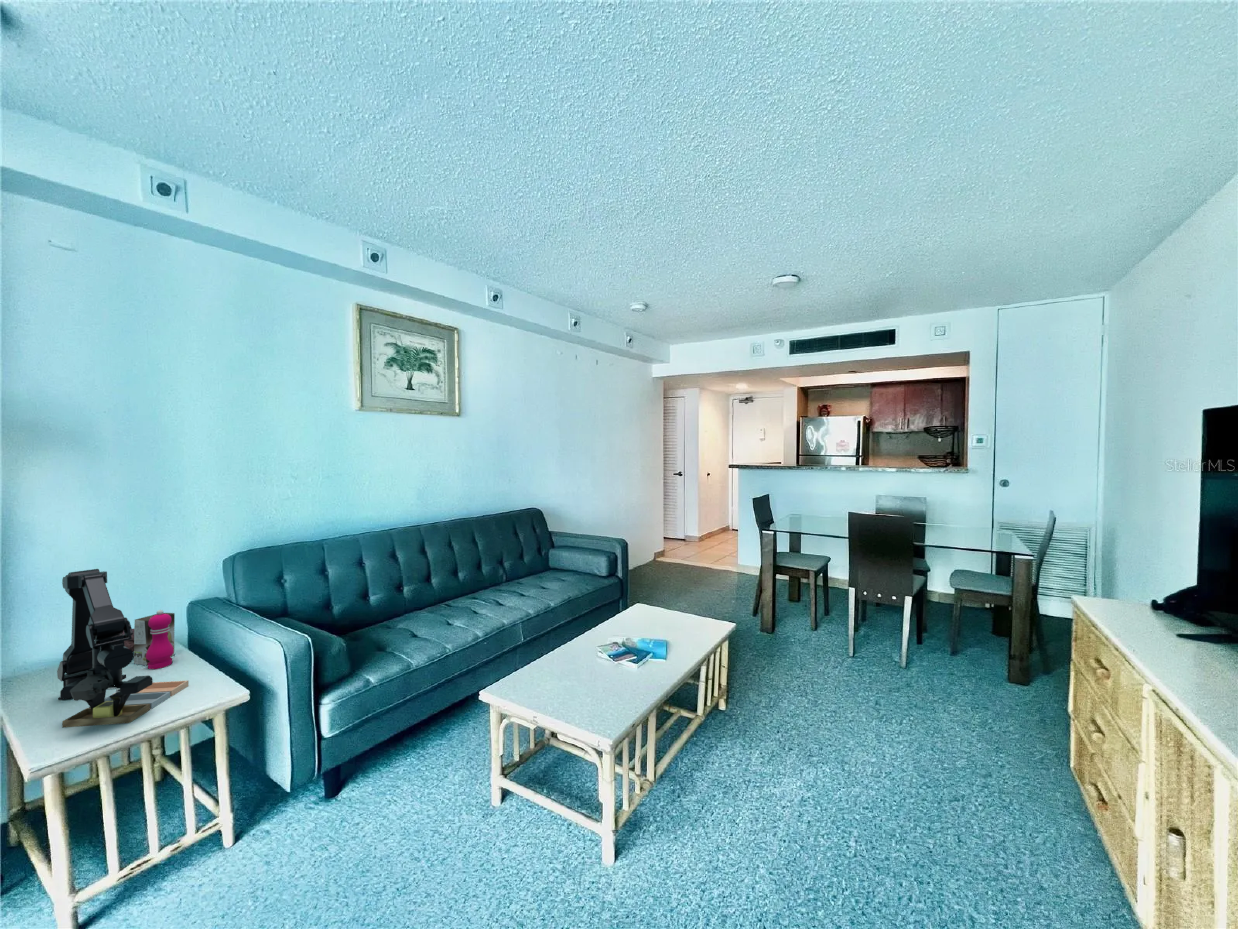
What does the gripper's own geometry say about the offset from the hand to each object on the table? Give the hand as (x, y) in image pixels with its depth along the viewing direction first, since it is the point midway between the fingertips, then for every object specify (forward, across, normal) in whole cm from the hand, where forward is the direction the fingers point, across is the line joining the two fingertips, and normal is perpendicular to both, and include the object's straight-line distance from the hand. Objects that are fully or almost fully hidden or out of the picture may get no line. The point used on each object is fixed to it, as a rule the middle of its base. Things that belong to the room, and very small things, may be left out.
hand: (107, 716), depth 134 cm
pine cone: (+1, -34, +50) cm, 60 cm away
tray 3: (+1, 0, +15) cm, 15 cm away
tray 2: (+1, 0, +8) cm, 8 cm away
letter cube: (0, 0, 0) cm, 0 cm away
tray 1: (+1, 0, 0) cm, 1 cm away
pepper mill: (+1, -14, +38) cm, 41 cm away
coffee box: (+1, -20, +44) cm, 48 cm away
